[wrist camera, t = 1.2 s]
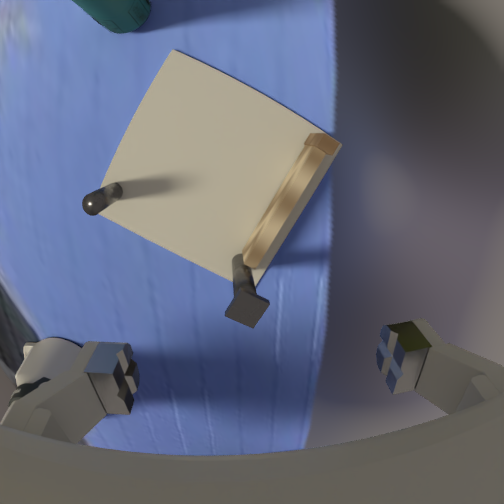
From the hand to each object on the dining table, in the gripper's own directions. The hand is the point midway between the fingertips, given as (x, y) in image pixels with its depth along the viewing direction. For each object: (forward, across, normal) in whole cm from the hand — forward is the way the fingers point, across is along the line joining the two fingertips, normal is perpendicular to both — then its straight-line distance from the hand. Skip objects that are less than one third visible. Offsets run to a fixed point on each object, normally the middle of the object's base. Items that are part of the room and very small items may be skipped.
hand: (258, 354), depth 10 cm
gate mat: (+32, +3, -2) cm, 32 cm away
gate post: (+32, 0, +10) cm, 33 cm away
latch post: (+32, +16, 0) cm, 35 cm away
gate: (+31, -5, +2) cm, 32 cm away
